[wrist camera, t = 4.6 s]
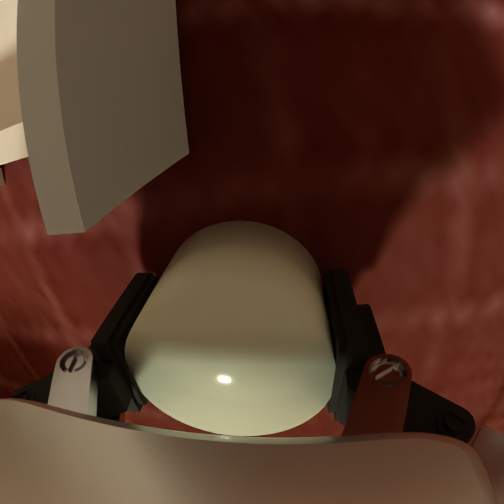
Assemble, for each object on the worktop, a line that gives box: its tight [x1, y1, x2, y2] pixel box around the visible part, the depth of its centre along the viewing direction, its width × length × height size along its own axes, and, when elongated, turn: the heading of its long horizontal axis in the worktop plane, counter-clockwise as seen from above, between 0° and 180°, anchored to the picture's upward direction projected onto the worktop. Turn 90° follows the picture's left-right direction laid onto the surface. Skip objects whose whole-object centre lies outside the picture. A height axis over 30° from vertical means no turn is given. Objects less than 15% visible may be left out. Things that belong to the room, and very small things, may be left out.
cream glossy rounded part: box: [125, 221, 336, 436], centre depth 10 cm, size 6×6×4 cm
